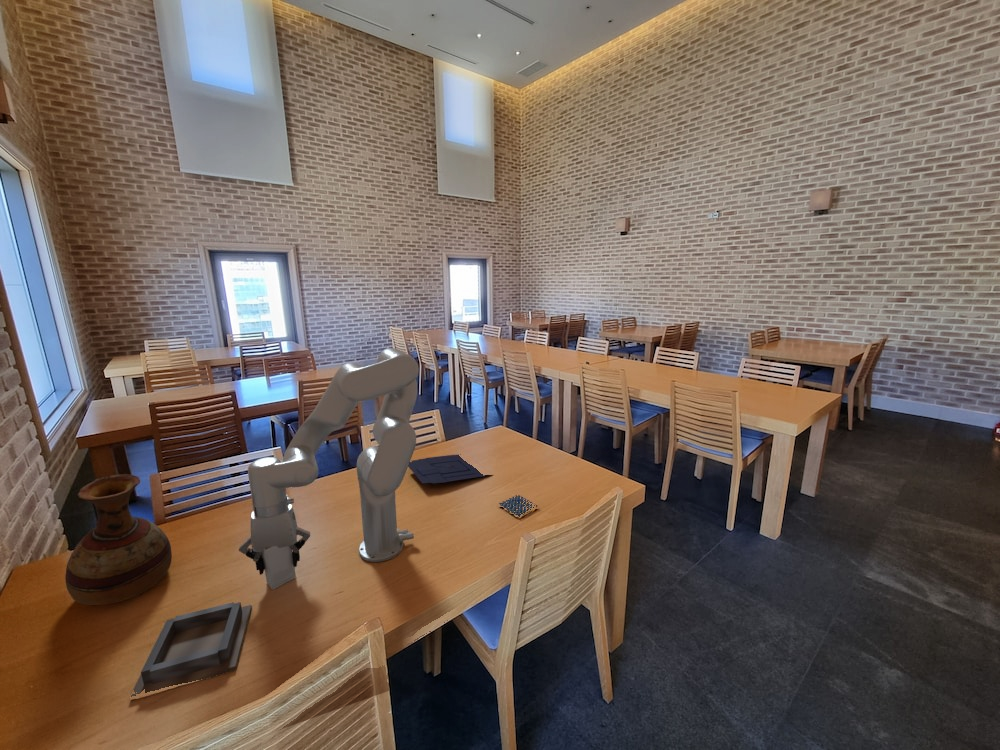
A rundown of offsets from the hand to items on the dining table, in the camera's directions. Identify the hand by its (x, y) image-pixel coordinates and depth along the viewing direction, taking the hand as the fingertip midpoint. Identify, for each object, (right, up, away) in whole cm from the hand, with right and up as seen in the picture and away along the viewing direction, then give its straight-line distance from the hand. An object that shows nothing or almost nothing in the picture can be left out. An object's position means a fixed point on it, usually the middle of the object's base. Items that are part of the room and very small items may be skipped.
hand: (279, 566), depth 104 cm
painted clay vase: (-39, -5, -1) cm, 39 cm away
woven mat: (+64, +3, +36) cm, 74 cm away
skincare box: (0, -4, +1) cm, 5 cm away
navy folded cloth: (+36, +9, +61) cm, 72 cm away
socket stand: (-7, -9, -19) cm, 22 cm away
